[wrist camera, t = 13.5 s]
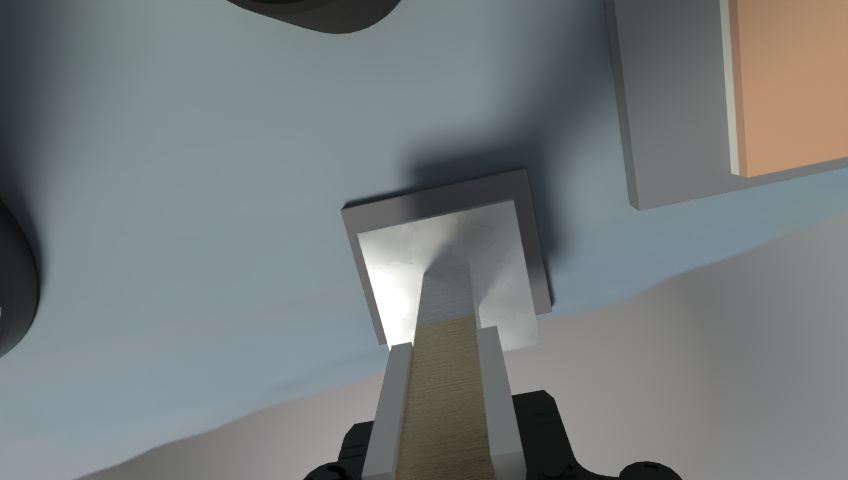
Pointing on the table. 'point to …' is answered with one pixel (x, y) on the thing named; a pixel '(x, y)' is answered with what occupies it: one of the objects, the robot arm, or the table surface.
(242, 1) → the pen holder
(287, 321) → the table surface
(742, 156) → the tile
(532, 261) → the mat
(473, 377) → the wooden post on base
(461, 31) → the table surface
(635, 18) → the slate board
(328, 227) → the table surface
